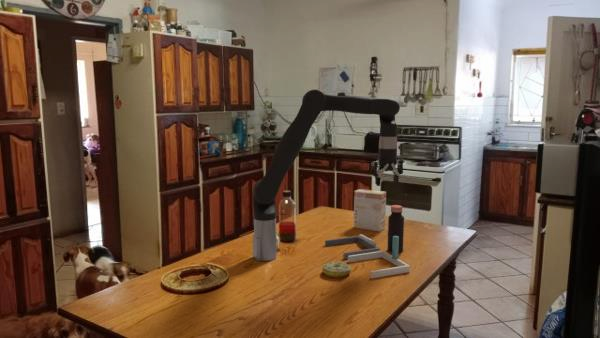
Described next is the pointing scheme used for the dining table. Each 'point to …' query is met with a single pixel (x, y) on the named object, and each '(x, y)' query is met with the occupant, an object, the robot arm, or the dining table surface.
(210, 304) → the dining table surface
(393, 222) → the vinegar
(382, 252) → the white u-shaped bracket
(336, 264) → the decorated donut
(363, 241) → the grey u-shaped handle
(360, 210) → the coffeecake box
